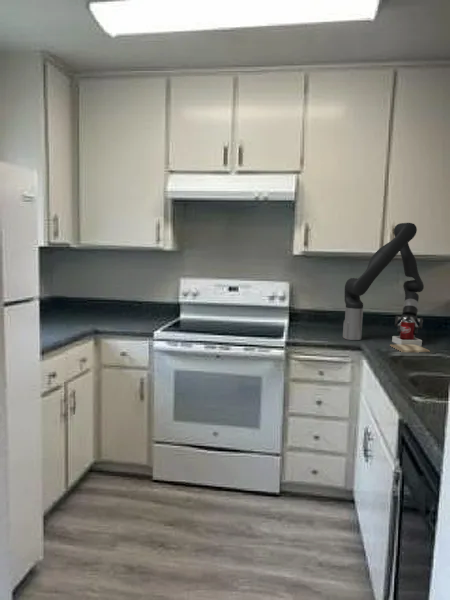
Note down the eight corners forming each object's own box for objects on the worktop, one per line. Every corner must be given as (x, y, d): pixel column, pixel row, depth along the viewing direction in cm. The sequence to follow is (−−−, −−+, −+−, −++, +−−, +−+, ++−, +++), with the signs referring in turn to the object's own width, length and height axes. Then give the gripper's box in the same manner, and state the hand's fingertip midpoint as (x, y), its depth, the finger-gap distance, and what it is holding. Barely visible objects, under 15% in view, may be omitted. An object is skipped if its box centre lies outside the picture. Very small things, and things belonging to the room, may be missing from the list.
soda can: (406, 345, 255) (407, 322, 253) (396, 342, 261) (397, 320, 260) (416, 344, 257) (418, 322, 256) (406, 342, 264) (408, 320, 263)
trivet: (402, 352, 238) (402, 350, 238) (389, 346, 252) (390, 344, 252) (429, 352, 239) (429, 350, 239) (416, 346, 253) (416, 344, 253)
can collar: (401, 345, 253) (401, 340, 253) (392, 341, 264) (392, 336, 264) (421, 346, 254) (422, 340, 254) (411, 341, 265) (412, 336, 265)
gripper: (396, 303, 267) (392, 328, 258) (424, 305, 261) (421, 330, 252) (396, 312, 272) (393, 336, 263) (424, 314, 266) (421, 339, 257)
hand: (407, 333), depth 257 cm, fingers closed on soda can, 7 cm apart
